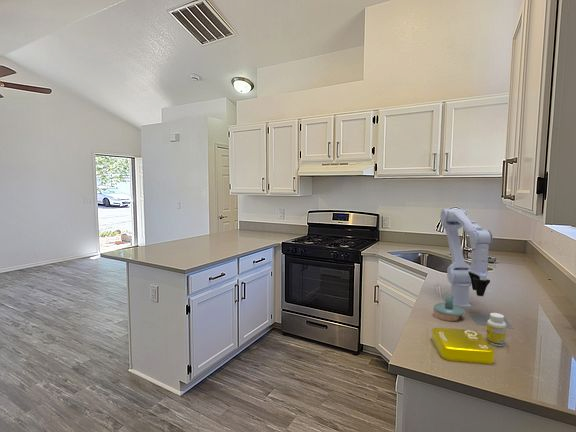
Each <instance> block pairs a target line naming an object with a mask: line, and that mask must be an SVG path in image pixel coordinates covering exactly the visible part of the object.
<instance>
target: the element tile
mask: <svg viewBox="0 0 576 432" xmlns="http://www.w3.org/2000/svg"><path fill="white" fill-rule="evenodd" d="M431 341H432V343H433V345H434V347H435V348H436V350H437V352H438V354H439V355H440V357H441V358H442V359H443V360H446V361H450V362H463V363H475V364H485V365H486V364H487V365H493V364H494V363H495V349H494V348H493V346H492V344H490V343H488V341H487V339H485V338H484V336H483V335H482V334H481V333H479V331H477V330H473V329H461V328H460V329H459V328H444V327H433V328H432V330H431Z"/></svg>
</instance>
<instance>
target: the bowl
mask: <svg viewBox="0 0 576 432" xmlns="http://www.w3.org/2000/svg"><path fill="white" fill-rule="evenodd" d="M432 317H434V318H437V319H439V320H443V321H449V322H453V321H459V319H460V316H449V315H444V314H441V313H438V312H436V311H435V310H434V309H433V315H432Z"/></svg>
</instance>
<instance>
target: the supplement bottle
mask: <svg viewBox="0 0 576 432" xmlns="http://www.w3.org/2000/svg"><path fill="white" fill-rule="evenodd" d="M489 315H490V319H489V320H488V321H487V326H486V341H487V342H488V343H489V344H490V345H491V346H495V347H504V346H506V337H507V336H506V335H507V333H506V332H507V328H506V323H505V322H504V317H505V315H503V314H501V313H498V312H490V314H489Z"/></svg>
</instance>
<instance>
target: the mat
mask: <svg viewBox="0 0 576 432" xmlns="http://www.w3.org/2000/svg"><path fill="white" fill-rule="evenodd" d="M470 315H471V317H472V319H473V321H474V322H475V323H476V325H477V326H478V325H479V326H486V327H487V321H488V320H489V319H490V314H487V313H486V314H485V313H477V312H470ZM504 322H505V323H506V329H511V330H514V329H515V328H514V327H513V325H511V324H510V322H509V321H508V320H507V319H506V318H505V316H504Z"/></svg>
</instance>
